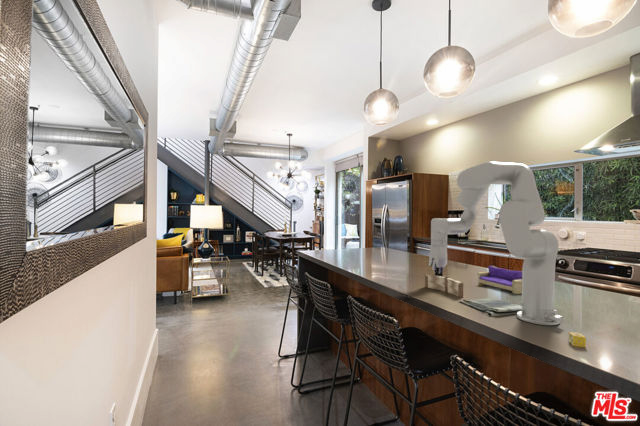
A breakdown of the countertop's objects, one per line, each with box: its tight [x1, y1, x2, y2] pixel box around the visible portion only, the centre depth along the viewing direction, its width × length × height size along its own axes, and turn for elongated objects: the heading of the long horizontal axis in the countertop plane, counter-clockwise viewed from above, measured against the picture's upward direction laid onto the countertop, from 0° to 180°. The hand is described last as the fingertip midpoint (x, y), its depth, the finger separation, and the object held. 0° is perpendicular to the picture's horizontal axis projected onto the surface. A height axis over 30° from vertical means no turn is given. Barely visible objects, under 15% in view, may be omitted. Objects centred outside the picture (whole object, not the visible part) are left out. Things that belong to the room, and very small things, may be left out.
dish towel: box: [457, 297, 522, 318], centre depth 128 cm, size 19×18×3 cm
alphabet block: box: [567, 331, 587, 348], centre depth 93 cm, size 3×3×3 cm
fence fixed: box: [444, 276, 464, 299], centre depth 145 cm, size 12×2×7 cm, turn 12°
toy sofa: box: [476, 265, 522, 295], centre depth 158 cm, size 21×9×10 cm, turn 22°
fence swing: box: [424, 273, 446, 292], centre depth 155 cm, size 10×2×6 cm, turn 42°
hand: (438, 280), depth 159 cm, fingers closed
